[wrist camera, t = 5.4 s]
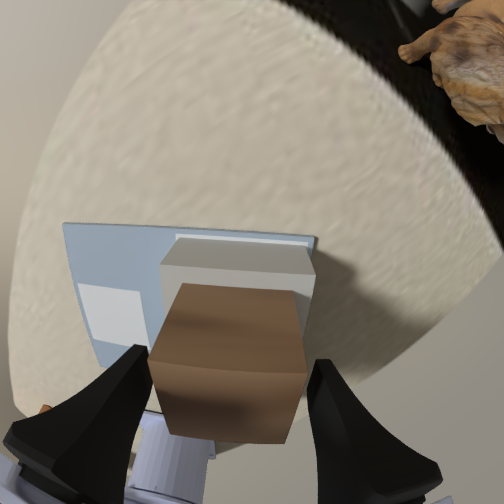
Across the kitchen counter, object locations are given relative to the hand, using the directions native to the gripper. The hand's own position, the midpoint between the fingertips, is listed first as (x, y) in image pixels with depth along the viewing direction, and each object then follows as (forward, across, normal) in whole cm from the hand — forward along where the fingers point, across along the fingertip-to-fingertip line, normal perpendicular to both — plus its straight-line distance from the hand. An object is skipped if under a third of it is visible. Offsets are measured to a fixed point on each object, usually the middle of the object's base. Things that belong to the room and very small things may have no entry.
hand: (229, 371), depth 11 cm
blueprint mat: (+6, +4, +2) cm, 8 cm away
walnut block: (+3, 0, 0) cm, 3 cm away
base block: (+6, 0, 0) cm, 6 cm away
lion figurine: (+7, -12, -17) cm, 22 cm away
